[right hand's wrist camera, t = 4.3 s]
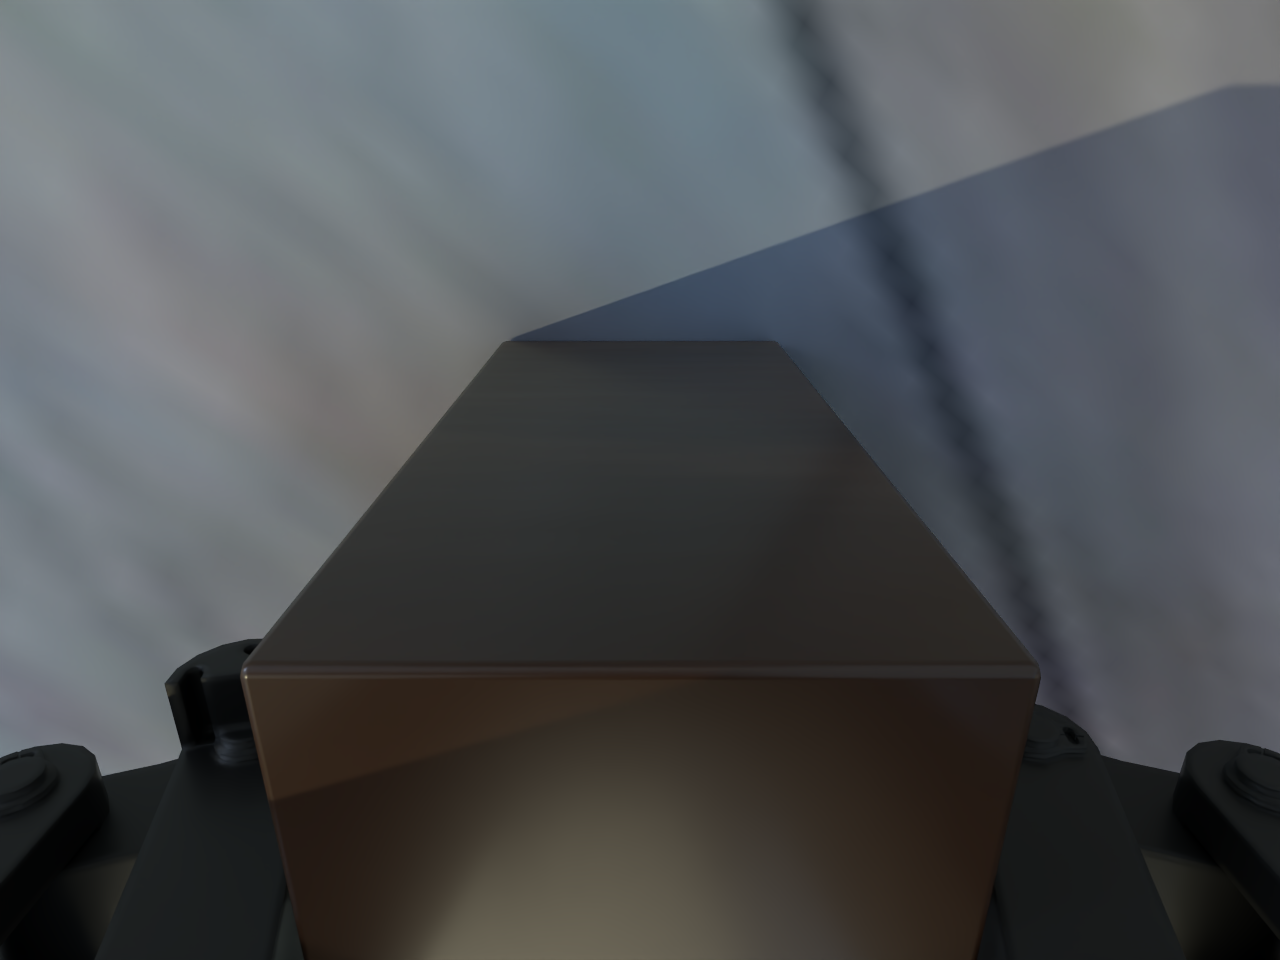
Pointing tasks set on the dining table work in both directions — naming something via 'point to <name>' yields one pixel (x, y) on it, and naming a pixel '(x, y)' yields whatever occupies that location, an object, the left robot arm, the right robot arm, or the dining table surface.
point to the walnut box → (640, 684)
